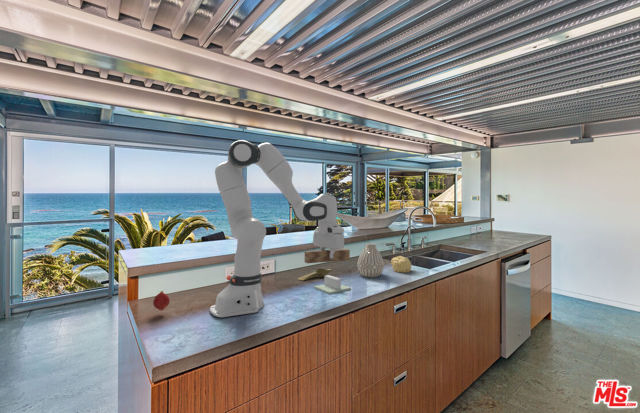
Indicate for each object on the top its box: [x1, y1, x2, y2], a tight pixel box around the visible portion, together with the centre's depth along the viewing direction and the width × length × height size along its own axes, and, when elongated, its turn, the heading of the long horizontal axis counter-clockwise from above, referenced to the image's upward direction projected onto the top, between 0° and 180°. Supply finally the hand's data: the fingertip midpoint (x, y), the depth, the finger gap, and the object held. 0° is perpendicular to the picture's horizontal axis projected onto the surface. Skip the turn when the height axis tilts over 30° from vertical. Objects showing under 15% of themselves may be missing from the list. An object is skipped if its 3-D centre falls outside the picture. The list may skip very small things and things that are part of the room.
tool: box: [297, 268, 333, 281], centre depth 173 cm, size 22×6×5 cm, turn 114°
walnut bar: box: [304, 248, 351, 264], centre depth 139 cm, size 22×3×5 cm, turn 114°
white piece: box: [313, 274, 352, 295], centre depth 152 cm, size 14×13×6 cm
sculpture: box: [390, 255, 412, 273], centre depth 189 cm, size 11×12×11 cm
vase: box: [356, 243, 385, 278], centre depth 178 cm, size 16×16×20 cm
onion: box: [152, 290, 170, 311], centre depth 121 cm, size 6×6×8 cm
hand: (327, 257), depth 139 cm, fingers closed on walnut bar, 4 cm apart
